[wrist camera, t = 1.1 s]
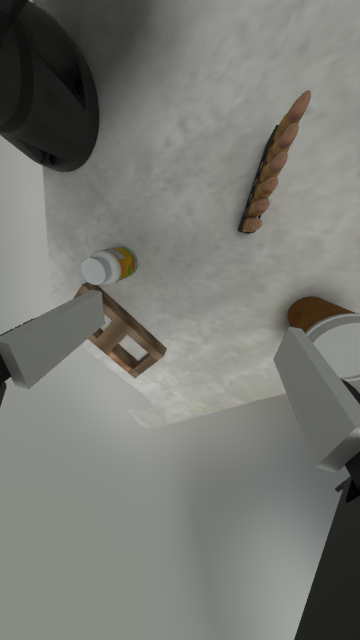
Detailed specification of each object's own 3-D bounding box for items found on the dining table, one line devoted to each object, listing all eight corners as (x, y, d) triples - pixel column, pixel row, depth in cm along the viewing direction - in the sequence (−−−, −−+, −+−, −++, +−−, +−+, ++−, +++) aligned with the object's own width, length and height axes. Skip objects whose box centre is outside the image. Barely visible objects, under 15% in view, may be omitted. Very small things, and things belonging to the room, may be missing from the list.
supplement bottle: (130, 281, 36) (102, 296, 28) (107, 264, 36) (71, 275, 27) (142, 258, 34) (115, 268, 25) (118, 240, 33) (82, 244, 25)
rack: (71, 311, 43) (60, 317, 40) (92, 280, 38) (81, 284, 35) (139, 369, 47) (134, 378, 44) (166, 348, 42) (162, 357, 39)
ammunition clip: (249, 233, 28) (264, 236, 18) (237, 231, 29) (245, 231, 18) (281, 144, 23) (329, 75, 13) (267, 141, 23) (303, 70, 13)
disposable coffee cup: (292, 344, 35) (321, 393, 25) (267, 306, 33) (289, 342, 22) (349, 320, 31) (413, 367, 20) (325, 275, 29) (384, 302, 18)
